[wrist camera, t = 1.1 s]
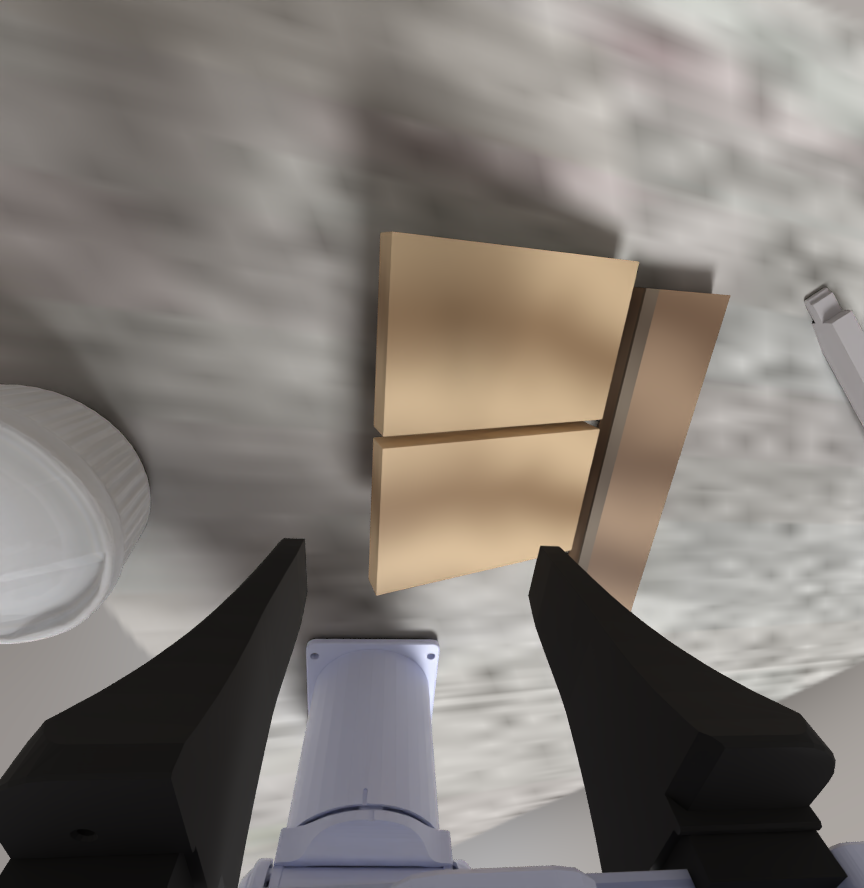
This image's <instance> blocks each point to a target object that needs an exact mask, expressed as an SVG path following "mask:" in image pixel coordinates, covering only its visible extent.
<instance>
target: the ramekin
mask: <svg viewBox="0 0 864 888" xmlns="http://www.w3.org/2000/svg"><path fill="white" fill-rule="evenodd" d="M150 504H151V496H150V487H149V483H148V477H147V475H146V473H145V470H144V467H143V465H142V463H141V461H140V458H139V456H138V455H137V453H136V451H135V450H134V448H133V447H132V445H131V444H130V443H129V442H128V440H127V439H126V438H125V437H124V436H123V434H122V433H121V432H120V431H119V430H118V429H117V428H115V427H114V426H113V425H112V424H111V423H110V422H109V421H108V420H106V419H105V418H103V417H102V416H101V415H99V414H98V413H97V412H96V411H94V410H92V409H90V408H88V407H87V406H85V405H84V404H82V403H80V402H78V401H75V400H73V399H71V398H70V397H67V396H64V395H61V394H59V393H56V392H54V391H50V390H44V389H41V388H38V387H31V386H23V385H4V384H0V644H13V643H24V642H30V641H37V640H41V639H46V638H49V637H53V636H56V635H58V634H60V633H63V632H66V631H68V630H70V629H72V628H74V627H75V626H77V625H79V624H80V623H82V622H83V621H84V620H86V619H87V618H88V617H89V616H91V615H92V614H93V613H94V612H95V611H96V610H97V609H98V608H99V607H100V605H101V604H102V603H103V602H104V601H105V600H106V598H107V597H108V596H109V594H110V593H111V592H112V590H113V588H114V587H115V585H116V583H117V581H118V579H119V577H120V574H121V571H122V568H123V565H124V563H125V562H126V560H127V559H128V557H129V555H130V553H131V552H132V550H133V548H134V546H135V545H136V543H137V541H138V539H139V538H140V536H141V534H142V532H143V530H144V528H145V527H146V524H147V522H148V516H149V514H150Z"/></svg>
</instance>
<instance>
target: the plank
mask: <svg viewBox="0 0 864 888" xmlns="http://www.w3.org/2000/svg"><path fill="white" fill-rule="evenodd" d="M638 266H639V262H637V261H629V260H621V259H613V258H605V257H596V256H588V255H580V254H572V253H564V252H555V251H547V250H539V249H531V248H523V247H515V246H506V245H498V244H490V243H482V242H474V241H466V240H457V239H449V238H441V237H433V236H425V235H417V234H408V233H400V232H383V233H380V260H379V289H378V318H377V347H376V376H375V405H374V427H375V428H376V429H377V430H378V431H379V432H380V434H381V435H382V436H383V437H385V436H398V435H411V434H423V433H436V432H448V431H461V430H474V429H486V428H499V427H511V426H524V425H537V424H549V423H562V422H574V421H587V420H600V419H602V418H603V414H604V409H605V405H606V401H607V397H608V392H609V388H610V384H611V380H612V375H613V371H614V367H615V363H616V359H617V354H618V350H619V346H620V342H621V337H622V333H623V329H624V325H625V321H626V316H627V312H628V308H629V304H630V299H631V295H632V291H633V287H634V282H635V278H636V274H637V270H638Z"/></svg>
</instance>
